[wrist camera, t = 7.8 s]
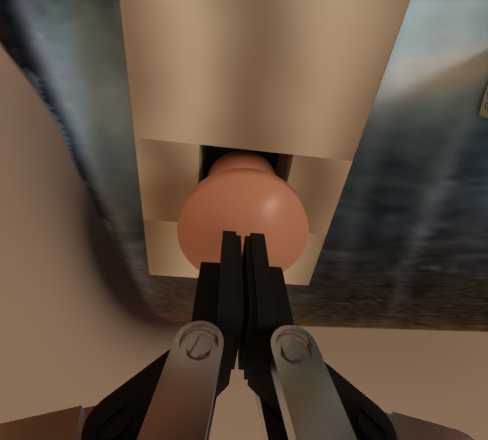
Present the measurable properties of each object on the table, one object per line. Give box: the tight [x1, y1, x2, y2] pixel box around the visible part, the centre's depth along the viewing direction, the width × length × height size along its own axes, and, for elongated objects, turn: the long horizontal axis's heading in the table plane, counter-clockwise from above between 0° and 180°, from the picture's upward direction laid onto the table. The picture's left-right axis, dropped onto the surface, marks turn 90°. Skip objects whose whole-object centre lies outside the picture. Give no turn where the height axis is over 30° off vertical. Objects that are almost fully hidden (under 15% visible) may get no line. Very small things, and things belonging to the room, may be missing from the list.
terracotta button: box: [177, 150, 309, 272], centre depth 15 cm, size 6×6×6 cm
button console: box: [119, 0, 410, 285], centre depth 14 cm, size 12×29×4 cm, turn 173°
